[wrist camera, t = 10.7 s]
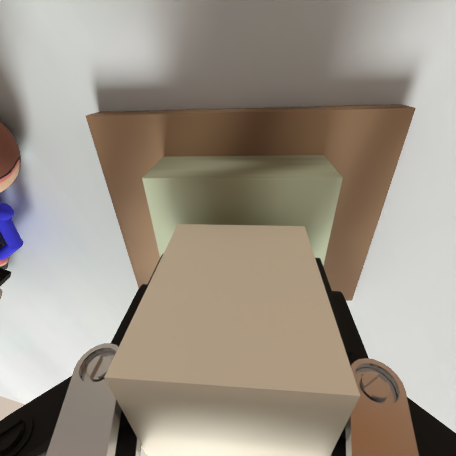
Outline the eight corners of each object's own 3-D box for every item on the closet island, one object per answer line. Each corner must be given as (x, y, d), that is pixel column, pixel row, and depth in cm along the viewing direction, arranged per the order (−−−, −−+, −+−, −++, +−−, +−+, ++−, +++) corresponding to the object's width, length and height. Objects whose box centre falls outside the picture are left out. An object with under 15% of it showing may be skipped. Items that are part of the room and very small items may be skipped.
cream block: (304, 226, 10) (360, 396, 5) (291, 312, 12) (317, 480, 7) (177, 224, 10) (103, 377, 5) (191, 308, 13) (151, 463, 8)
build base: (401, 104, 12) (464, 120, 8) (346, 287, 18) (368, 340, 15) (98, 112, 13) (42, 128, 10) (145, 280, 20) (122, 327, 16)
